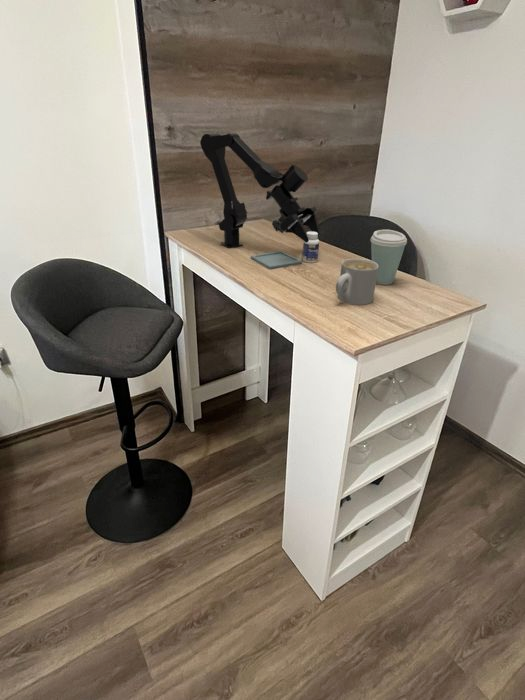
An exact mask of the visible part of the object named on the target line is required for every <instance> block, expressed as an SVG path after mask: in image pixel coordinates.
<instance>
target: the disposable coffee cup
mask: <svg viewBox="0 0 525 700" xmlns="http://www.w3.org/2000/svg"><path fill="white" fill-rule="evenodd" d="M369 241H370V242H371V243H370V244H371V247H370V249H371V250H370V252H371V261H373V262H375V263H377V264H378V266H379V267H378V273H377V279H376V285H377V284H378V285H382V286H387V285H392V284H393V283H394V282H395V281H394V280H395V277H396V276H397V273H398V269H399V266H400V262H401V260H402V257H403V253H404V250H405V247H406V245H407V243H408V239H407V237H406V235H405V234H403V233H402V232H399V231H397V230H392V229H378V230H375V231H374V232H373V234H372V236H371V237H370V240H369Z"/></svg>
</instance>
